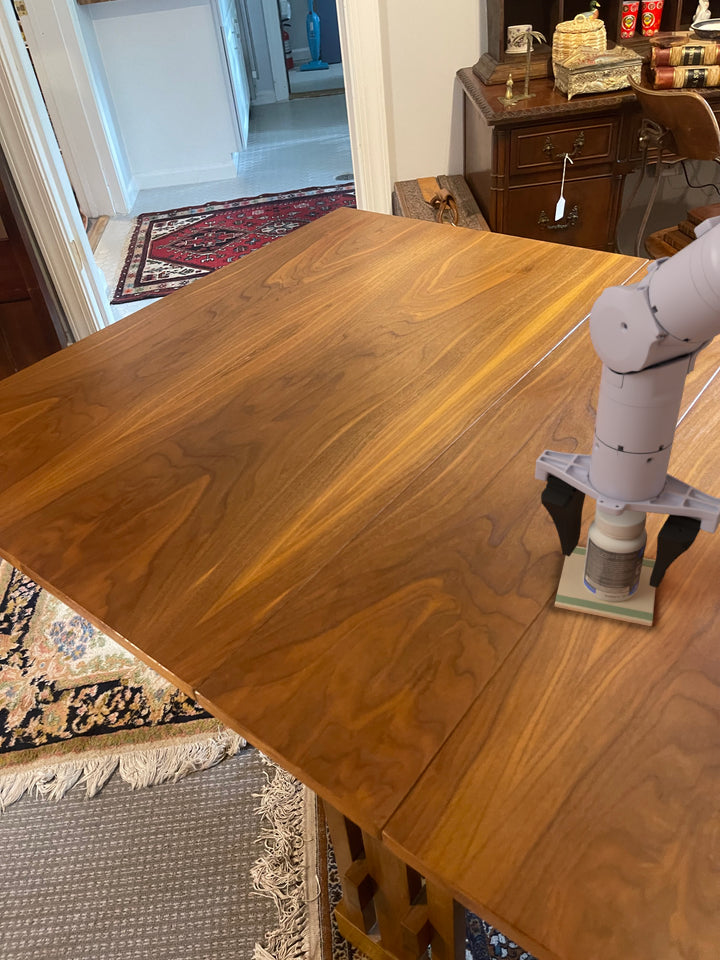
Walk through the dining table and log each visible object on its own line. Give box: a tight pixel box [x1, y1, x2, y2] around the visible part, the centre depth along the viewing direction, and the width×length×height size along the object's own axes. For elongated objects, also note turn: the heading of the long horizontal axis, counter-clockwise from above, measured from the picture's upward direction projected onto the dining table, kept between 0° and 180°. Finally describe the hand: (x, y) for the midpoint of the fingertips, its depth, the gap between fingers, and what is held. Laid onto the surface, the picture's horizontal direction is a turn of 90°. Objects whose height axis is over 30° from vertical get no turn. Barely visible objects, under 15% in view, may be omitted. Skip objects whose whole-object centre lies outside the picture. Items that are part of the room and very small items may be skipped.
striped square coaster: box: [554, 545, 656, 627], centre depth 66 cm, size 8×8×1 cm
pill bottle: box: [583, 507, 648, 601], centre depth 63 cm, size 5×5×8 cm
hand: (612, 563), depth 64 cm, fingers open, 7 cm apart
